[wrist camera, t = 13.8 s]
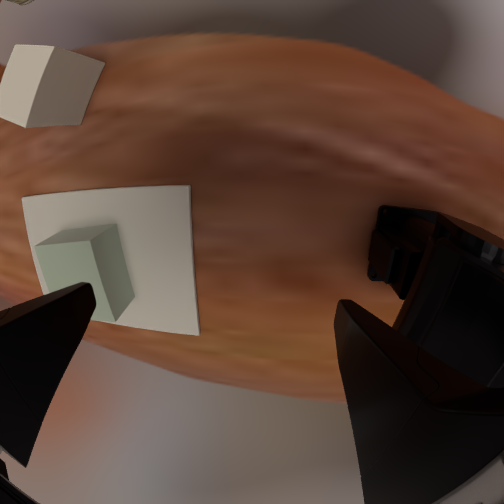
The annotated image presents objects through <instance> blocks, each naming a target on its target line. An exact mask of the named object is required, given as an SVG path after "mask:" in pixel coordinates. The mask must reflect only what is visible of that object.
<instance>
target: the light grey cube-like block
mask: <svg viewBox="0 0 504 504" xmlns="http://www.w3.org/2000/svg"><path fill="white" fill-rule="evenodd" d="M104 65H105V63H104V62H101V61H99V60H96V59H93V58H90V57H87V56H84V55H81V54H78V53H75V52H72V51H68V50H65V49H62V48H58V47H54V46H41V45H15V47H14V50H13V52H12V54H11V56H10V59H9V61H8V64H7V67H6V69H5V72H4V75H3V78H2V81H1V84H0V117H1V118H3V119H6V120H8V121H10V122H13V123H15V124H18V125H20V126H22V127H25V128H29V127H43V126H66V125H81V122H82V119H83V117H84V114H85V111H86V108H87V106H88V103H89V100H90V98H91V95H92V93H93V90H94V88H95V86H96V83H97V81H98V79H99V76H100V74H101V72H102V70H103V68H104Z"/></svg>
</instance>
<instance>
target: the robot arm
mask: <svg viewBox="0 0 504 504" xmlns="http://www.w3.org/2000/svg"><path fill="white" fill-rule="evenodd" d="M385 209H386V210H387V212H386V214H383V211H384V210H385ZM368 260H369V261H370V264H369V269H368V278H369V279H370V280H371V281H384V282H385V283H386V284H390V285H391V287H392V288H393V290H394V291H395V292H396V294H397V295H398V297H399V298H400V299H402V300H404V303H403V305H402V307H401V309H400V311H399V314H398V316H397V318H396V320H395V322H394V324H393V326H392V327H390V326H389V325H388V324H386V323H385V322H383V321H382V320H380V319H379V318H377V317H376V316H374V315H373V314H371V313H370V312H368V311H367V310H366V309H364V308H363V307H361V306H360V305H358V304H357V303H355V302H354V301H352V300H350V299H341V300H339V302H338V304H337V309H336V314H335V319H334V331H335V339H336V348H337V357H338V364H339V369H340V373H341V378H342V382H343V386H344V391H345V395H346V400H347V405H348V409H349V414H350V419H351V424H352V429H353V434H354V439H355V445H356V451H357V457H358V462H359V468H360V475H361V482H362V489H363V496H364V503H365V504H504V241H503V239H501V238H499V237H498V236H496V235H494V234H492V233H490V232H488V231H486V230H485V229H483V228H481V227H478V226H476V225H473V224H471V223H468V222H465V221H463V220H460V219H457V218H455V217H452V216H449V215H446V214H443V213H441V212H436V211H429V210H421V209H413V208H405V207H397V206H388V205H382V206H381V207H380V208H379V210H378V217H377V224H376V229H375V230H374V231H373V234H372V240H371V246H370V251H369V257H368ZM373 273H375V275H374V276H372V274H373ZM96 304H97V303H96V298H95V294H94V291H93V287H92V285H91V284H90V283H88V282H80V283H77V284H74V285H71V286H68V287H65V288H62V289H60V290H57V291H54V292H51V293H48V294H46V295H43V296H40V297H37V298H35V299H32V300H29V301H26V302H24V303H21V304H18V305H16V306H13V307H11V308H8V309H5V310H2V311H0V454H1V452H2V450H3V451H4V452H6V453H7V454H8V455H9V456H11V457H12V458H13V459H15V460H16V461H17V462H18V463H20V464H21V465H23V466H24V467H25V468H26V467H27V464H28V461H29V458H30V455H31V452H32V449H33V447H34V444H35V441H36V438H37V436H38V433H39V430H40V427H41V425H42V422H43V420H44V417H45V415H46V412H47V410H48V408H49V405H50V403H51V401H52V398H53V396H54V394H55V392H56V390H57V387H58V385H59V383H60V381H61V378H62V377H63V374H64V373H65V371H66V369H67V367H68V365H69V362H70V361H71V359H72V357H73V355H74V353H75V351H76V349H77V347H78V345H79V343H80V342H81V340H82V338H83V336H84V333H85V331H86V329H87V326H88V324H89V322H90V320H91V317H92V315H93V313H94V311H95V309H96ZM0 504H40V503H38V502H36V501H35V500H34V499H32V498H31V497H29V496H28V495H27V494H25V493H24V492H23V491H21V490H20V489H19V488H17V487H16V486H15V485H14V484H12V483H11V482H10V481H9V478H8V474H7V469H6V465H5V462H4V461H2V460H1V459H0Z"/></svg>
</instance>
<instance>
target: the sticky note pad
mask: <svg viewBox="0 0 504 504" xmlns="http://www.w3.org/2000/svg"><path fill="white" fill-rule="evenodd" d="M34 248H35V251H36V255H37V258H38V261H39V264H40V267H41V270H42V273H43V276H44V279H45V282H46V285H47V287H48V290H49V293H51V292H54V291H57V290H60V289H62V288H65V287H68V286H71V285H74V284H77V283H80V282H88V283H90V284H91V285H92V287H93V291H94V294H95V298H96V303H97V304H96V309H95V311H94V313H93V315H92V317H91V320H96V321H107V322H116V321H117V320H118V318H119V317H120V316H121V314H122V313H123V312H124V311H125V309H126V308H127V307H128V305H129V304H130V303H131V301H132V300H133V299H134V298H135V295H134V291H133V288H132V284H131V281H130V277H129V274H128V270H127V266H126V262H125V258H124V254H123V250H122V246H121V242H120V237H119V233H118V228H117V224H109V225H100V226H92V227H85V228H77V229H70V230H63V231H60V232H58V233H56V234H54V235H53V236H51V237H49V238H47V239H45V240H44V241H42V242H40V243H39V244H37V245H35V246H34Z"/></svg>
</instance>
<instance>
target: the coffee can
mask: <svg viewBox="0 0 504 504" xmlns="http://www.w3.org/2000/svg"><path fill="white" fill-rule="evenodd" d="M7 1H11V2H14V3H17V4H19V5H26V4H28V3H30V2H32V1H34V0H7Z"/></svg>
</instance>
